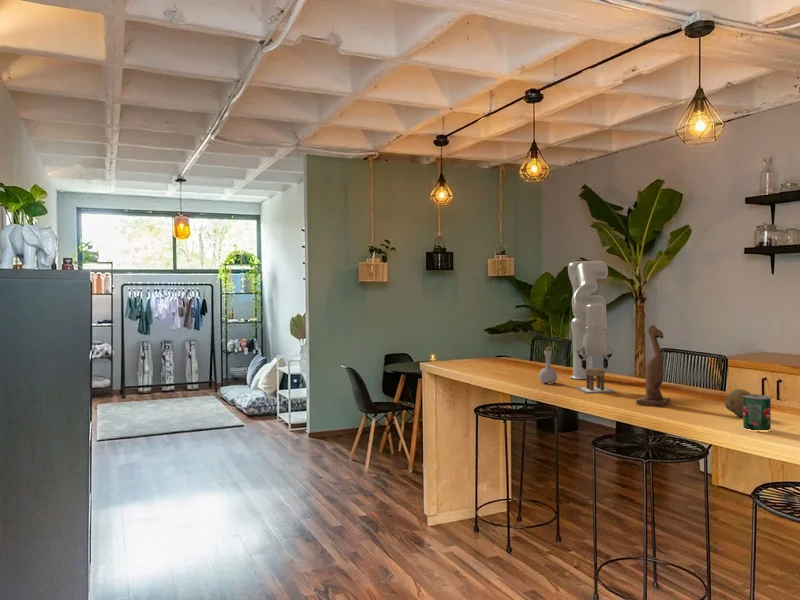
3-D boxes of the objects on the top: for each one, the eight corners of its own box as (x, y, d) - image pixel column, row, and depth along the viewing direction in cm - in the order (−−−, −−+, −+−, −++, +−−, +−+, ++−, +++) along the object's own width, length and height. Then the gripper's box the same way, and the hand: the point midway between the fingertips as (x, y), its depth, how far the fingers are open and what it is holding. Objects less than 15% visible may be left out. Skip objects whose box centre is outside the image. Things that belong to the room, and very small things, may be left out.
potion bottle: (559, 384, 306) (559, 347, 306) (541, 384, 306) (540, 347, 306) (555, 381, 315) (554, 345, 315) (537, 382, 315) (536, 345, 315)
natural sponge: (729, 419, 224) (729, 390, 224) (721, 413, 233) (721, 386, 233) (757, 419, 223) (757, 391, 223) (748, 414, 232) (748, 387, 231)
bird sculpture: (667, 408, 246) (670, 326, 245) (635, 405, 252) (638, 324, 251) (670, 404, 256) (673, 324, 255) (640, 400, 262) (642, 323, 261)
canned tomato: (774, 432, 203) (774, 398, 203) (748, 432, 204) (748, 398, 204) (765, 427, 211) (765, 394, 211) (739, 426, 212) (739, 394, 212)
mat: (575, 388, 295) (575, 387, 295) (604, 387, 296) (604, 386, 296) (585, 393, 281) (585, 392, 281) (616, 392, 282) (616, 391, 282)
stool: (585, 388, 291) (585, 368, 291) (599, 387, 292) (599, 368, 292) (590, 390, 285) (590, 370, 285) (604, 390, 285) (604, 370, 285)
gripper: (610, 329, 292) (610, 366, 293) (573, 330, 291) (573, 367, 292) (616, 331, 285) (616, 369, 286) (578, 332, 284) (578, 370, 285)
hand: (594, 368), depth 289 cm, fingers open, 9 cm apart
